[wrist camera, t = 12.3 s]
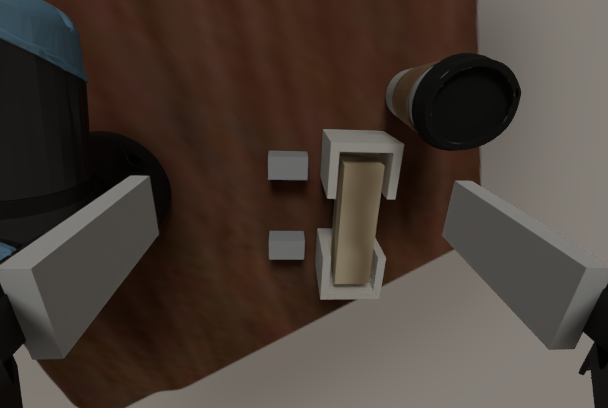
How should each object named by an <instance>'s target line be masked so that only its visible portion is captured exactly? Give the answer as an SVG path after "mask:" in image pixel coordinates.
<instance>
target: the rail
mask: <svg viewBox="0 0 608 408" xmlns="http://www.w3.org/2000/svg"><path fill="white" fill-rule="evenodd" d="M384 168H385V166H384V165H383V164H382V163H381V162H380V161H379V160H378V159H377V158H376V157H375V156H374V155H361V154H339V166H338V178H337V191H336V199H334V212H333V225H332V238H331V251H330V256H331V265H330V266H331V270H332V275H333V279H334V284H369V277H370V270H371V263H372V255H373V248H374V241H375V234H376V226H377V219H378V212H379V204H380V197H381V190H382V182H383V175H384Z"/></svg>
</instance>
